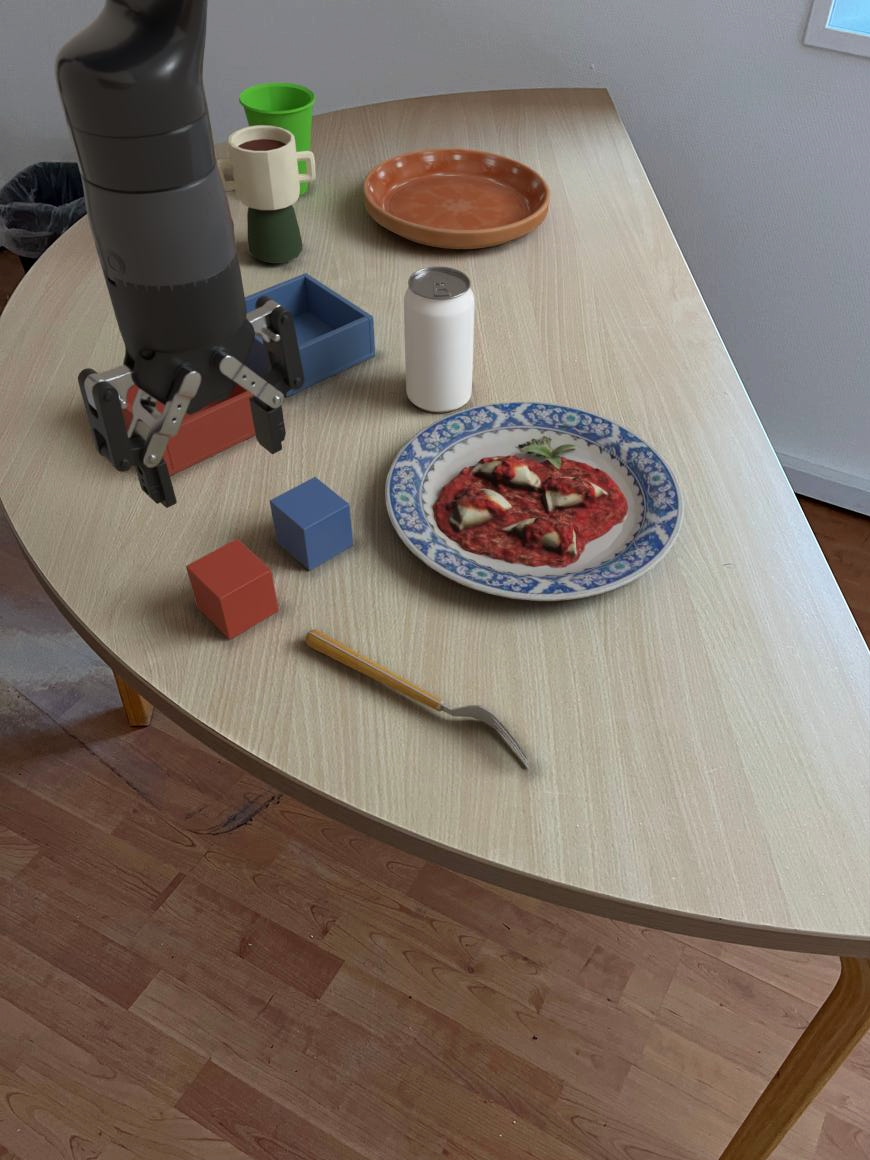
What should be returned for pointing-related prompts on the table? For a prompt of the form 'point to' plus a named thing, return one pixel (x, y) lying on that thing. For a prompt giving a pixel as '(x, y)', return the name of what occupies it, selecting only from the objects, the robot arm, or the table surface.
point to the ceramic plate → (534, 501)
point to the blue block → (312, 523)
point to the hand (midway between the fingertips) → (218, 473)
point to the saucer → (456, 197)
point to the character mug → (268, 188)
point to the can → (439, 339)
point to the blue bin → (317, 329)
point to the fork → (403, 684)
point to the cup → (282, 113)
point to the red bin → (204, 429)
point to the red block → (233, 588)
